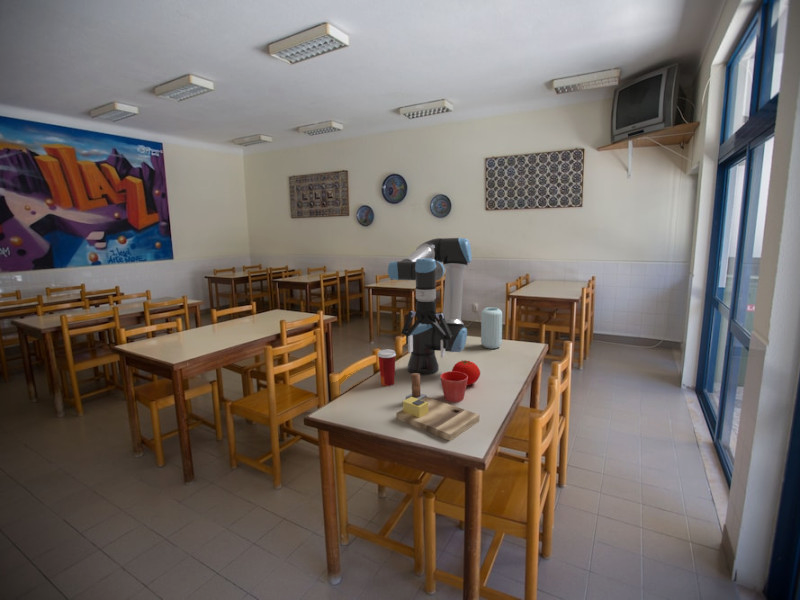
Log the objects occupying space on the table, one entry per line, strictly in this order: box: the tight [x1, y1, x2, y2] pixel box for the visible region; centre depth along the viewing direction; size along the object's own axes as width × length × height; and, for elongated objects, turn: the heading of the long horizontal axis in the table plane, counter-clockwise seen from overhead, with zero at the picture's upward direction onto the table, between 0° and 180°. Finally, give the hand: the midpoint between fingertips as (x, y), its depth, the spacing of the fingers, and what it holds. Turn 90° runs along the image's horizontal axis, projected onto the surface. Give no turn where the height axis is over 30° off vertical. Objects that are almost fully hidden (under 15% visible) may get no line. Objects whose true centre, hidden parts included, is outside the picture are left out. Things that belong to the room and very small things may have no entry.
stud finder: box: [402, 397, 428, 418], centre depth 148 cm, size 8×5×4 cm, turn 47°
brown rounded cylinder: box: [411, 373, 421, 398], centre depth 162 cm, size 3×3×11 cm
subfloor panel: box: [395, 396, 480, 442], centre depth 147 cm, size 24×18×2 cm
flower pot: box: [439, 370, 468, 403], centre depth 164 cm, size 11×11×10 cm
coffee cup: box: [376, 348, 397, 387], centre depth 180 cm, size 8×8×15 cm
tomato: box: [451, 359, 481, 386], centre depth 179 cm, size 11×12×10 cm
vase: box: [480, 306, 503, 350], centre depth 230 cm, size 12×12×22 cm
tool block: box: [405, 392, 428, 400], centre depth 163 cm, size 6×6×2 cm
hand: (426, 354), depth 155 cm, fingers open, 13 cm apart
